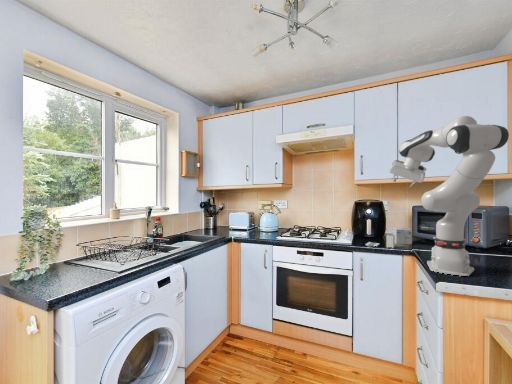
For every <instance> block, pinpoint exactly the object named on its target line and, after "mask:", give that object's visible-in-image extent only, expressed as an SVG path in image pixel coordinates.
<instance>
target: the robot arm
mask: <svg viewBox="0 0 512 384" xmlns="http://www.w3.org/2000/svg"><path fill="white" fill-rule="evenodd" d="M509 135H510V134H509V130H508V129H507V128H506V127H505V126H501V125H497V124H481V123H480V124H478V122H477V120H476V119H475V118H474V117H472V116H470V115H469V116H468V115H463V116H459V117H457V118H456V119H453V120H452V121H449V122H448V123H446V124H445V125H443V126H441V127H438V128H436V129H432V130H427V131H424V132H422V133H420V134H419V135H417V136H415V137H413V138H410V139H407V140H406V141H404V142H402V143H401V145H400V146H399V148H398V153H399V155H400V156H401V157H404V158H405V160H404V161H400V160H397V159H396V160H393V162H392V163H391V165H392V166H391V168H389V171H388V172H389V173H390V174H392V175H393V180H392V182H393V183H394V182H395V183H396V181H397V179H396V177H397V176H399V177H402V178H405V179H408V180H410V181H412V183H409V185H408V186H407V187H409V188H411V187H412V186H413V185H414V184H416V182H417V183H418V184H419V183H420V184H421V183H424V180H425V177H426V172H427V168H426V167H425V166H424V165H422V162H423V163H428V162H430V161H432V160H433V158H434V156H435V154H436V151H435V149H434V147H439V148H444V149H445V148H450V149H451V150H453V151H454V153H455V154H457V155H461V154H462V158H461V160H460V161H459V163H458V164H457V165H456V167H455V169H454V170H453V171H452V173H451V174H450V176H449V177H448V178H447V179H446V180H445V181H444V182H442V183H440V184H439V185H437V187H435V188H433V189H431V190H429V191H426V192H424V193H423V194H422V196H421V198H420V199H421V200H420V203H421V205H422V207H423V208H424V209H425V210H426V211H429V212H431V211H432V212H435V213H437V212H438V213H439V212H441V213H442V212H443V213H445V212H446V213H445V215H444V216H443V217H442V218H441V219H438V221H437V222H436V223H435V237H434V246H433V247H431V256H430V259H431V260H427V262H426V264H427V266H428V267H429V270H430V271H431V272H433V271H434V273H437V272H439V273H438V274H442V273H444V274H443V275H447V274H451V275H450V276H453V275H459V276H458V277H461V276H468V277H470V275H471V274H472V273H473V272H474V271H475V268H474V267H473V266H470V265H471V260H470V257H471V256H470V254H469V251H468V250H466V249H465V248H466V242H465V241H466V240H465V239H464V238H465V237H464V234H465V224H466V221H467V219H468V217H469V216H470V214H471V213H472V212H474V211H475V210H477V208H479V206H480V203H481V199H480V196H479V194H478V193H476V192H475V190H476V189H477V188H478V187H479V186H480V184H481V183H482V182H483V180H484V179H485V178H486V176H488V175H489V172H491V171H490V170H491V169H492V167H493V165H494V163H495V161H496V155H495V153H494V152H493V151H492V150H497V149H500V148H503V147H504V146H505V145H506V143H508V140H509ZM432 146H434V147H432Z"/></svg>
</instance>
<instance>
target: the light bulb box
mask: <svg viewBox="0 0 512 384" xmlns="http://www.w3.org/2000/svg"><path fill="white" fill-rule="evenodd" d="M412 234H413V231H412V228H408V227H392V235H395V245H412V244H413V235H412Z"/></svg>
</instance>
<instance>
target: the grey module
mask: <svg viewBox="0 0 512 384" xmlns="http://www.w3.org/2000/svg"><path fill="white" fill-rule="evenodd" d="M395 245H396V244H395V235H393V234H387V235H386V248H388V247H392V248H391V249H394V248H395ZM393 247H394V248H393Z"/></svg>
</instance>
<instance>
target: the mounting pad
mask: <svg viewBox="0 0 512 384" xmlns="http://www.w3.org/2000/svg"><path fill="white" fill-rule="evenodd" d="M379 245H380V243H379V242H378V243H377V242H371V241H368V242H367V243H365V246H368V247H369V246H370V247H375V246H376V247H378V246H379Z"/></svg>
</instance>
